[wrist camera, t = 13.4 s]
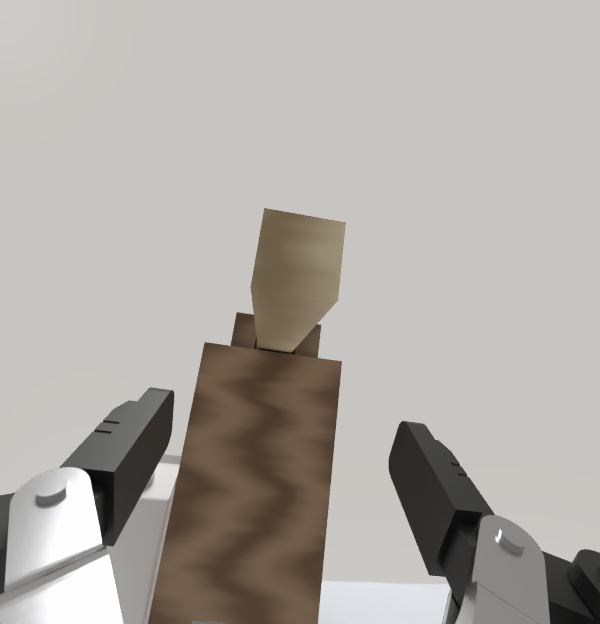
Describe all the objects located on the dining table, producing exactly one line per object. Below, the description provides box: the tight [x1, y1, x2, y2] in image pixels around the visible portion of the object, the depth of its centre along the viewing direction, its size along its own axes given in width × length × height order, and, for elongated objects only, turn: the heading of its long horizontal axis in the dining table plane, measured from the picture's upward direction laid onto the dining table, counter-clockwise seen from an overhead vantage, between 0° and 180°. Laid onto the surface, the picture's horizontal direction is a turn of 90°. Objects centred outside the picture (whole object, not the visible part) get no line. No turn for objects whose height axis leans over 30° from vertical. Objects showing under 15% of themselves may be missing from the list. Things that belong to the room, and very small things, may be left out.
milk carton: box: [106, 454, 182, 624], centre depth 38 cm, size 7×7×19 cm
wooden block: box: [251, 208, 346, 354], centre depth 22 cm, size 3×24×3 cm, turn 7°
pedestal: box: [148, 312, 342, 624], centre depth 31 cm, size 12×16×35 cm
